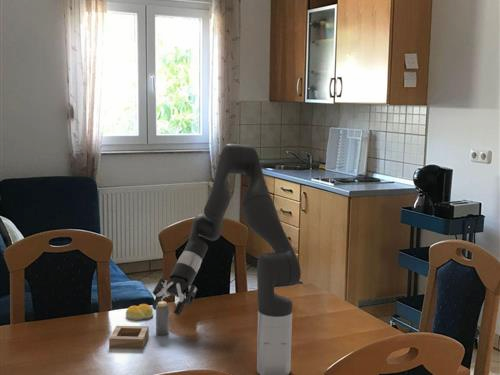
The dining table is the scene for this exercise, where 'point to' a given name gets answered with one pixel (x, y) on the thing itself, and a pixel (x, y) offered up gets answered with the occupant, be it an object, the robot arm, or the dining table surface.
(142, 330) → the socket
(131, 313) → the bread roll
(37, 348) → the dining table surface
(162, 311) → the plug
